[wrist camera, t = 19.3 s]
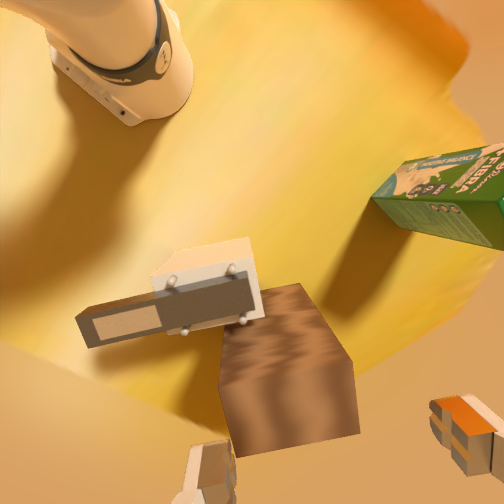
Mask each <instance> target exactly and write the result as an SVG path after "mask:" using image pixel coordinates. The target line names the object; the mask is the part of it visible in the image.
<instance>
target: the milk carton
mask: <svg viewBox="0 0 504 504" xmlns="http://www.w3.org/2000/svg"><path fill="white" fill-rule="evenodd" d="M371 198H372V199H373V200H374V201H375V203H376V204H377V205H378V206H379V207H380V208H381V209H382V210H383V211H384V212H385V213H386V214H387V215H388V216H389V217H390V218H391V219H392V220H393V221H394V222H395V224H396V225H397V226H398V227H399V228H402V229H406V230H411V231H415V232H420V233H424V234H429V235H433V236H438V237H442V238H447V239H451V240H456V241H460V242H465V243H470V244H474V245H479V246H483V247H488V248H492V249H497V250H501V251H504V143H501V144H495V145H489V146H484V147H479V148H473V149H468V150H463V151H457V152H452V153H447V154H442V155H436V156H431V157H426V158H420V159H415V160H410V161H405V162H404V163H403V164H402V165H401V166H400V168H399V169H398V170H397V171H396V172H395V173H394V174H393V175H392V176H391V177H390V178H389V179H388V180H387V181H386V182H385V183H384V184H383V185H382V186H381V187H380V188H379V189H378V190H377V191H376V192H375V193H374V194H373V195H372V196H371Z"/></svg>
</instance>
